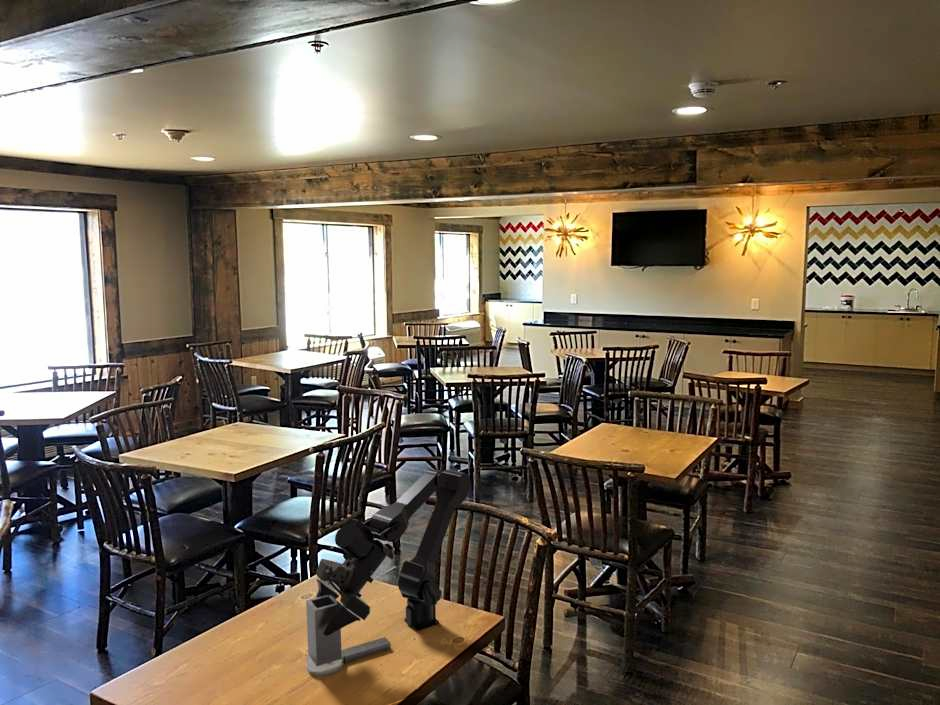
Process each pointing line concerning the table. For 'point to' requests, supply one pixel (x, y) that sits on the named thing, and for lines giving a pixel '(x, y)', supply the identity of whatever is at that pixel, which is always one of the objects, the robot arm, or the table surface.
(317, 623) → the socket
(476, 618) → the table surface
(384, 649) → the ratchet
